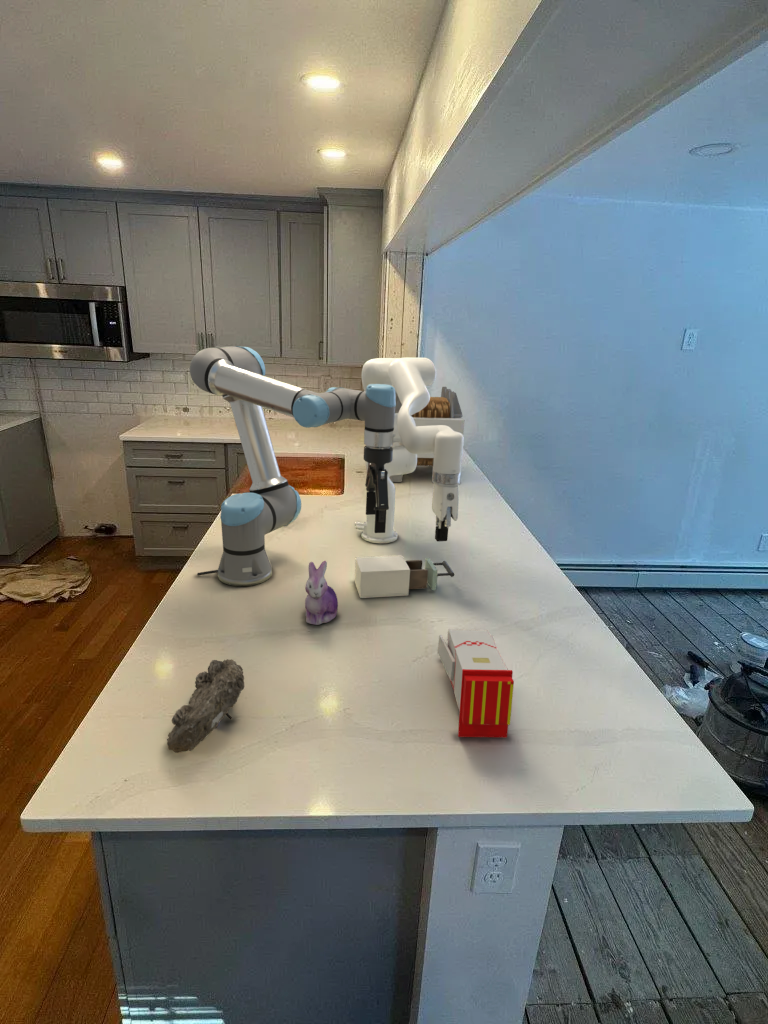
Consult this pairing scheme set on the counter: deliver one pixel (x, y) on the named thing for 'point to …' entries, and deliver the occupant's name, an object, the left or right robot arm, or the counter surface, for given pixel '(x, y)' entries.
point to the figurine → (319, 597)
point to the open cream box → (382, 576)
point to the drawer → (426, 573)
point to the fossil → (206, 705)
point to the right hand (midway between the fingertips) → (441, 540)
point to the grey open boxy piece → (435, 421)
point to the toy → (478, 682)
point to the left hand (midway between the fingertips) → (375, 523)
